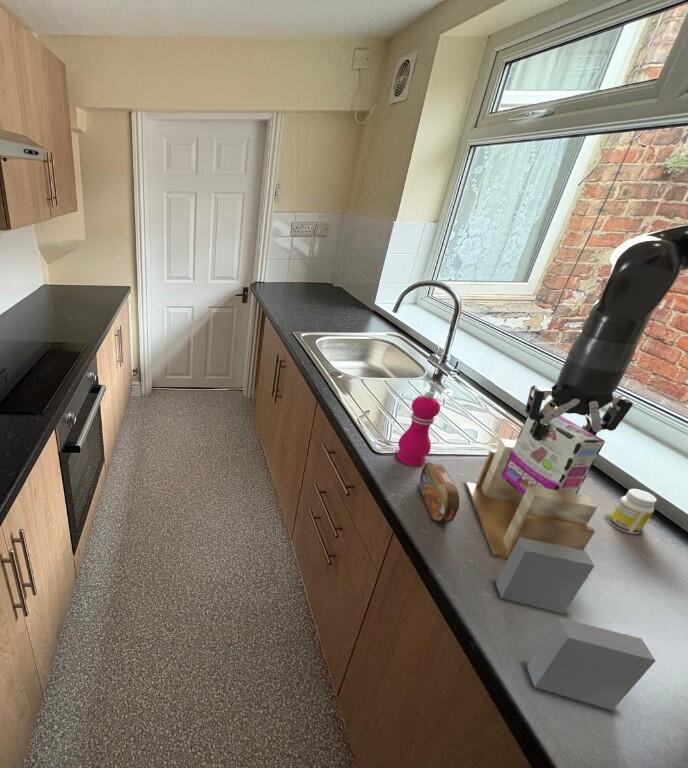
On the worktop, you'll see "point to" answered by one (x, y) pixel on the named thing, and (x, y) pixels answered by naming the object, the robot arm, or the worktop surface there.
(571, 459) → the candy bar box
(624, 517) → the supplement bottle
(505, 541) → the book rack
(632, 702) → the worktop surface
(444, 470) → the tin
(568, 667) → the grey blocks
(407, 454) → the pepper mill
